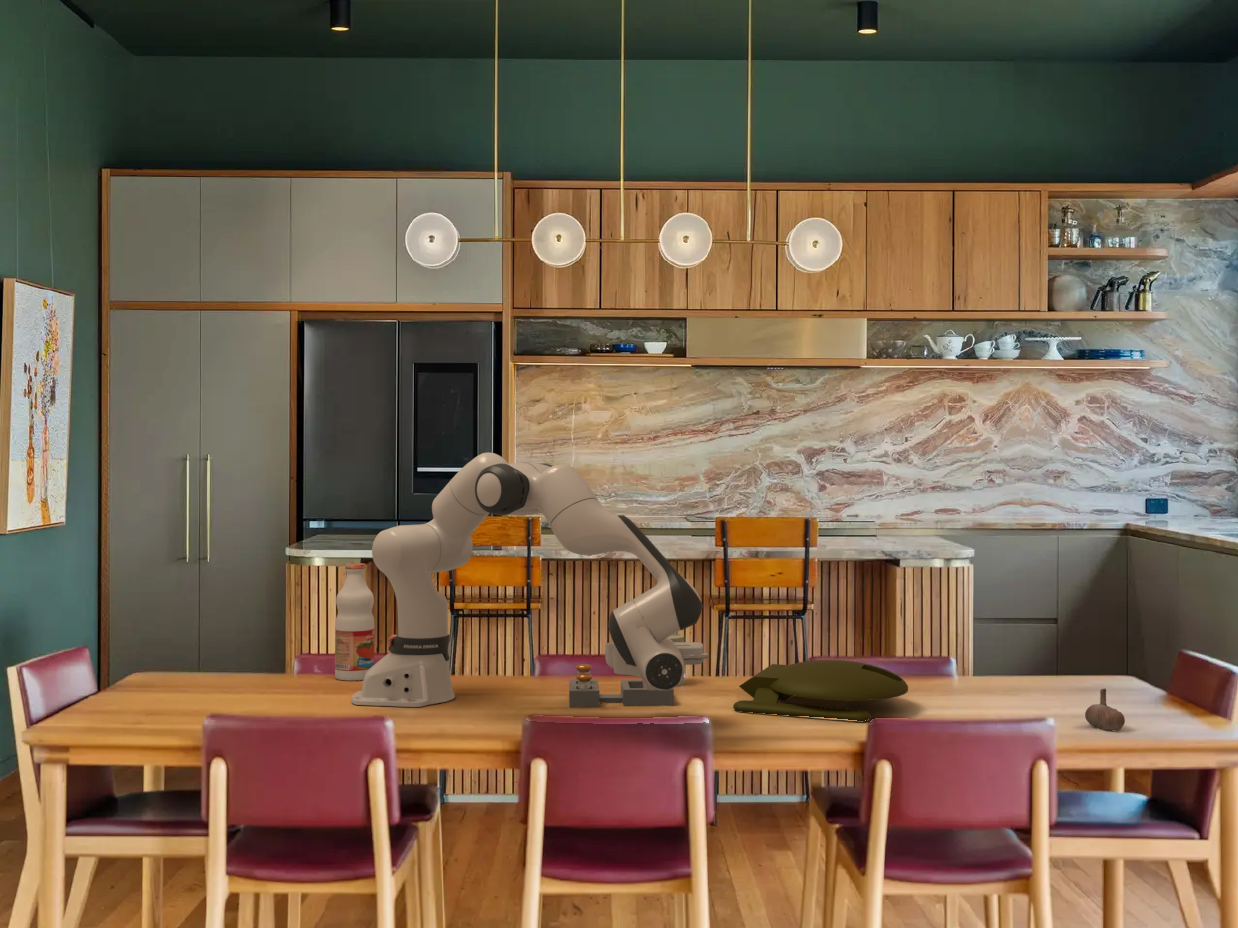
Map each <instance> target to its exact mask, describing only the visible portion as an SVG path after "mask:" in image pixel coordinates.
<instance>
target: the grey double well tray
mask: <svg viewBox="0 0 1238 928" xmlns="http://www.w3.org/2000/svg"><path fill="white" fill-rule="evenodd" d="M568 686H569V687H568V688H569V689H568V691H569V692H568V693H569V694H568V695H569V696H568V697H569V699H568V700H569V701H568V702H569V703H568V704H569V705H568V706H569V707H568V708H599V707H600V703H599V702H607V703H622V705H623V707H624V706H625V707H627V706H629V707H631V706H632V707H634V706H636V707H637V706H638V707H641V706H643V707H644V706H646V707H647V706H648V707H649V706H652V707H653V706H655V707H657V706H662V707H663V706H666V707H667V706H674V703H675V702H674V701H675V700H674V699H675V697H674V696H675V695H674V694H675V690H674V688H673V689H671V690H667V691H658V690H645V689H644V688H643V680H642V679H621V680H620V694H619V693H617V694H616V693H615V694H613V693H612V694H611V693H610V694H609V693H607V694H606V693H603V694H601V693H600V692H601V691H600V686H599V679H593V678H592V679H591V689H578V679H569V681H568Z"/></svg>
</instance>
